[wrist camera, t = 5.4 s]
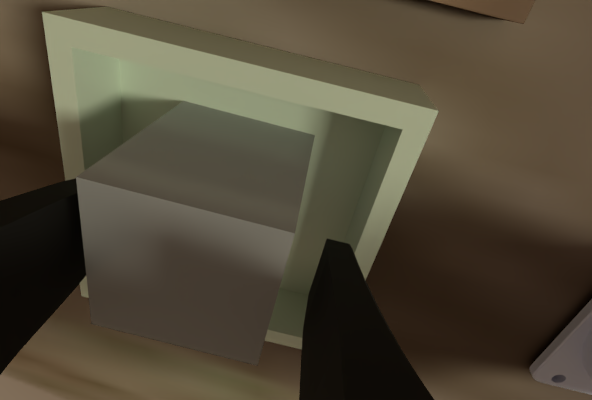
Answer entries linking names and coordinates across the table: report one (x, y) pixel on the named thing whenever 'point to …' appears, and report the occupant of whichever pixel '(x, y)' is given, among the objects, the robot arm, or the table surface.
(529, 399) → the table surface
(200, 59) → the green bin
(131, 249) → the grey block
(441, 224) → the table surface
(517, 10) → the brown shallow tray
